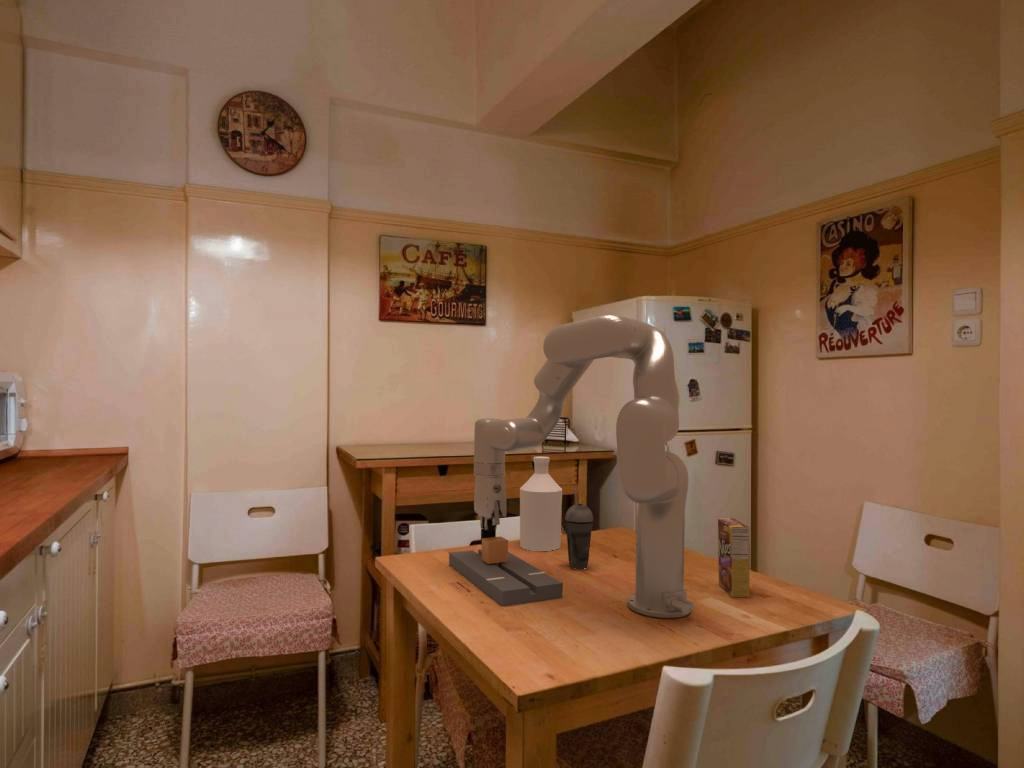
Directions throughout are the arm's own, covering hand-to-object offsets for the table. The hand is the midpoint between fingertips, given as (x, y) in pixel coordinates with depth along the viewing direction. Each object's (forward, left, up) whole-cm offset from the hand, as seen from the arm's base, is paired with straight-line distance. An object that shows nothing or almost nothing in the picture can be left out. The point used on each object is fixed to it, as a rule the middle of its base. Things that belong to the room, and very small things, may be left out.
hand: (488, 545), depth 148 cm
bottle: (+16, -23, -6) cm, 28 cm away
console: (-8, 0, -6) cm, 10 cm away
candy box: (-35, -44, -6) cm, 56 cm away
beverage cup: (-6, -22, -6) cm, 24 cm away
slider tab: (-4, 0, -4) cm, 6 cm away
